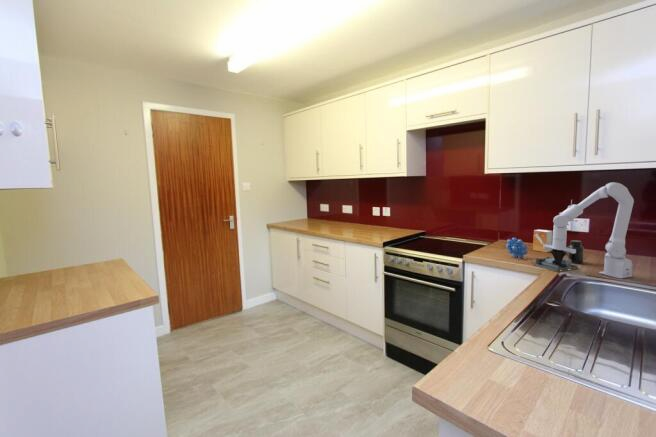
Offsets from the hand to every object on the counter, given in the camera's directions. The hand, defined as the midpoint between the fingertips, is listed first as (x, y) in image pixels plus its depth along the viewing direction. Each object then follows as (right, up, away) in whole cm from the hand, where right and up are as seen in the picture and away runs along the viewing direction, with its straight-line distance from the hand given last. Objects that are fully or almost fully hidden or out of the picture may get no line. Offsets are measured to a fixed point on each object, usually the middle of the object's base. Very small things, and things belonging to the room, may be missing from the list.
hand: (558, 264), depth 163 cm
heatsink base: (+1, -2, +4) cm, 5 cm away
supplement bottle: (+17, -1, +10) cm, 20 cm away
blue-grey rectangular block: (-1, -1, +5) cm, 5 cm away
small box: (+18, +3, +38) cm, 42 cm away
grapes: (-7, 0, +25) cm, 26 cm away
